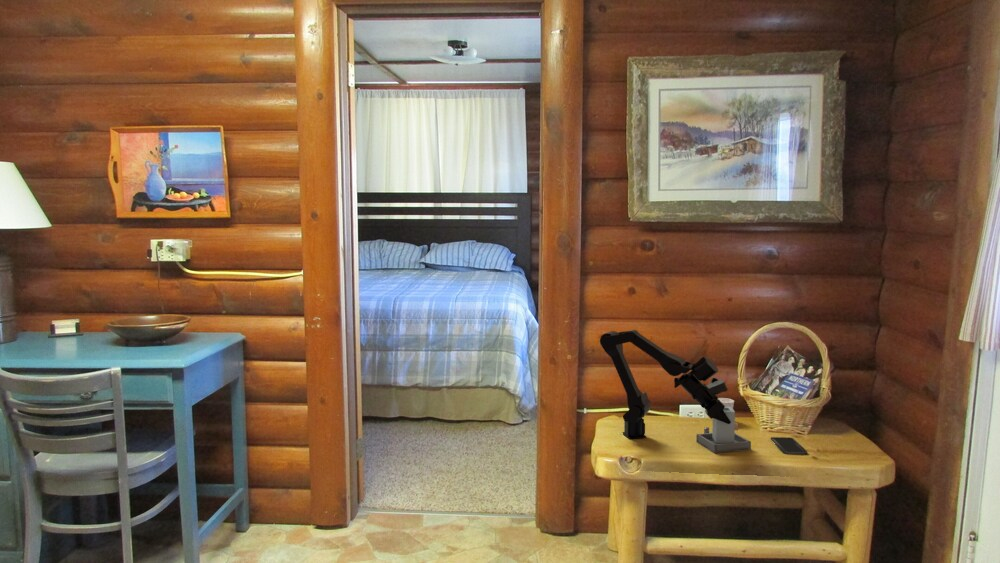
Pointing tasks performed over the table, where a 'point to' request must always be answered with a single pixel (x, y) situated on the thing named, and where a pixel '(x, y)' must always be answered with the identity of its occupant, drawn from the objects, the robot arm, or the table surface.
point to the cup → (727, 402)
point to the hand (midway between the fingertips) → (727, 420)
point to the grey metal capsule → (706, 430)
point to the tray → (715, 447)
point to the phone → (789, 446)
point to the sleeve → (725, 428)
